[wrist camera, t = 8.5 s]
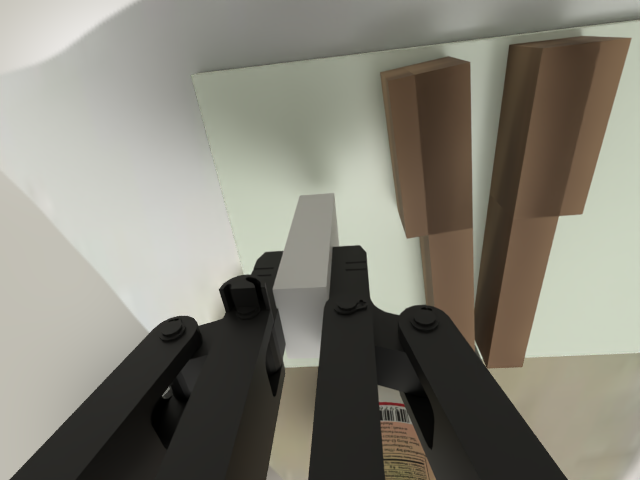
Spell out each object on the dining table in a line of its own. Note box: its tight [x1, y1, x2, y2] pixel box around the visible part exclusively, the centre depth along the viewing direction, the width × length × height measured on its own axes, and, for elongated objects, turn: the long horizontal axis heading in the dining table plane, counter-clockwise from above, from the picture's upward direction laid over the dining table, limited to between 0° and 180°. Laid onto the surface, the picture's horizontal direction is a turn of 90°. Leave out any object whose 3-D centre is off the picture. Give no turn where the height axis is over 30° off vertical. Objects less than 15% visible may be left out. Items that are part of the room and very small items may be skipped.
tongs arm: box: [380, 56, 475, 352], centre depth 19 cm, size 3×17×3 cm, turn 13°
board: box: [191, 19, 640, 368], centre depth 21 cm, size 28×20×1 cm
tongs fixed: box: [474, 36, 632, 368], centre depth 19 cm, size 4×20×4 cm, turn 6°
